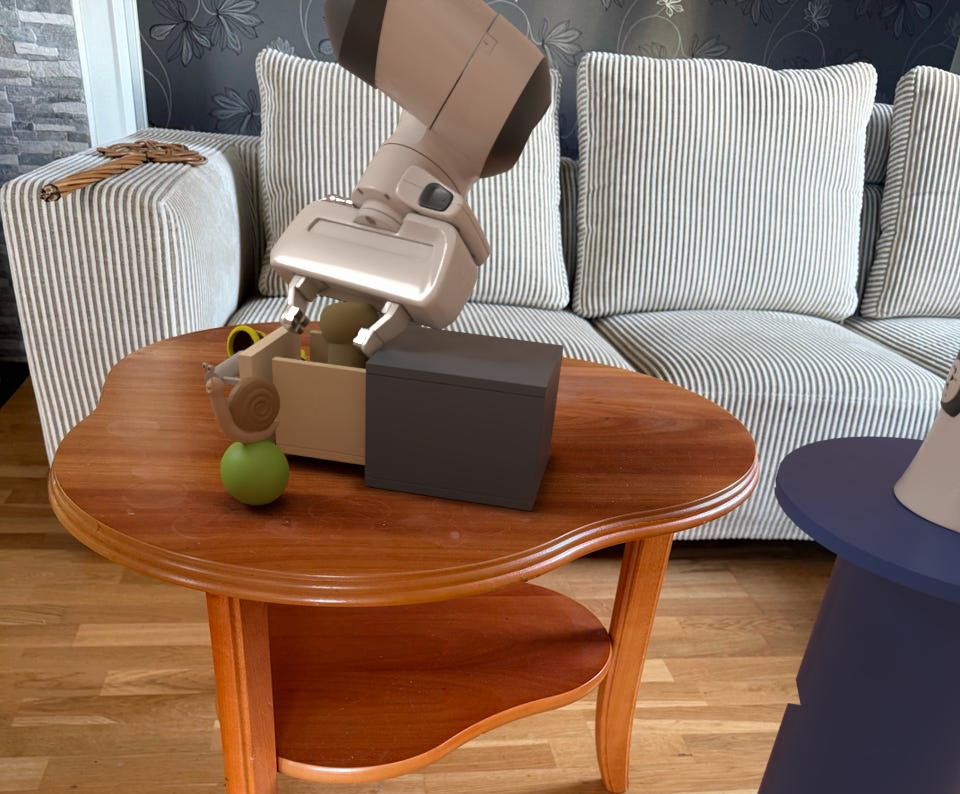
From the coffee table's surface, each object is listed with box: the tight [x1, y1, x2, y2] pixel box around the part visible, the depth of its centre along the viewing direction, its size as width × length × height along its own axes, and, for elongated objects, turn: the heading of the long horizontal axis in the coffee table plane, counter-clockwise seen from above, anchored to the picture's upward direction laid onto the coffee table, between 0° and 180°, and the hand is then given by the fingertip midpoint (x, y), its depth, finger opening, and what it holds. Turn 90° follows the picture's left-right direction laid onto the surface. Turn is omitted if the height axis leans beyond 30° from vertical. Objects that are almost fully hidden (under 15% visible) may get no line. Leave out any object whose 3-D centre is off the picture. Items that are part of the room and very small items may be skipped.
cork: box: [319, 301, 379, 369], centre depth 80 cm, size 6×6×11 cm
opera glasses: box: [226, 324, 308, 361], centre depth 100 cm, size 10×5×5 cm, turn 40°
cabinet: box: [364, 325, 564, 512], centre depth 80 cm, size 15×13×11 cm
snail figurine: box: [201, 361, 290, 506], centre depth 71 cm, size 5×6×12 cm
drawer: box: [203, 325, 386, 466], centre depth 82 cm, size 18×12×9 cm, turn 79°
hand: (324, 340), depth 78 cm, fingers open, 8 cm apart
